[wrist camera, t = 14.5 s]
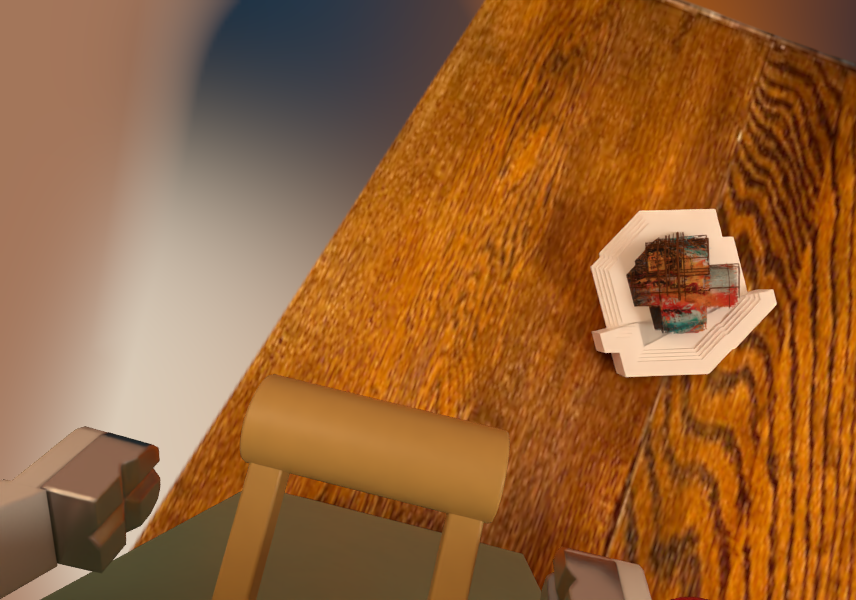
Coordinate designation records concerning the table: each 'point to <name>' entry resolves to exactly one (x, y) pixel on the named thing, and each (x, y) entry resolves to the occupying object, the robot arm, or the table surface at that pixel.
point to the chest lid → (335, 512)
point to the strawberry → (689, 598)
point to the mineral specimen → (673, 295)
